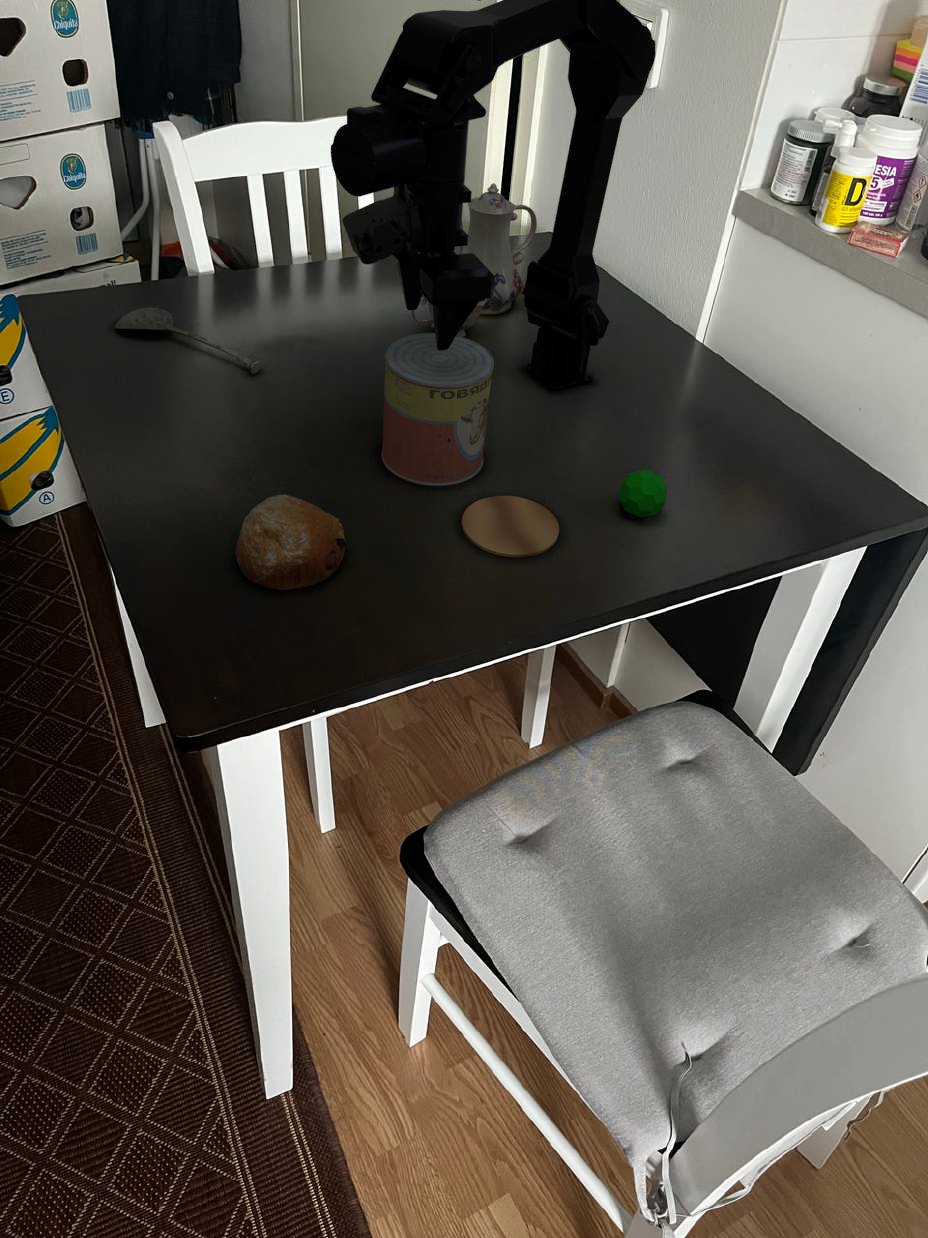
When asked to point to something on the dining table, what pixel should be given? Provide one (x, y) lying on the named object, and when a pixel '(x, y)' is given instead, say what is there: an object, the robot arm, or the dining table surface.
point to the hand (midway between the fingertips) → (426, 328)
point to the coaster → (510, 526)
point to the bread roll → (289, 544)
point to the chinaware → (493, 252)
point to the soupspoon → (173, 330)
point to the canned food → (435, 409)
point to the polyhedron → (642, 493)
